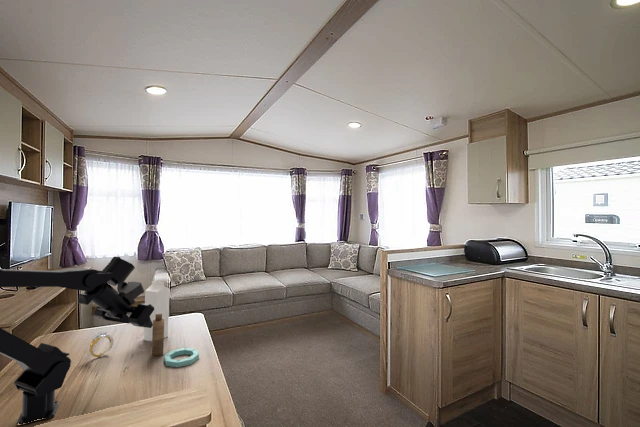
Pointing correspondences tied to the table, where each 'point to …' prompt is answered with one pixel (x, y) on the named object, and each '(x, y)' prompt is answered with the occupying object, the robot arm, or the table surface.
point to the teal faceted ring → (182, 362)
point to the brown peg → (158, 336)
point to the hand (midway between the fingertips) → (140, 324)
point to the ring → (99, 336)
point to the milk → (157, 306)
